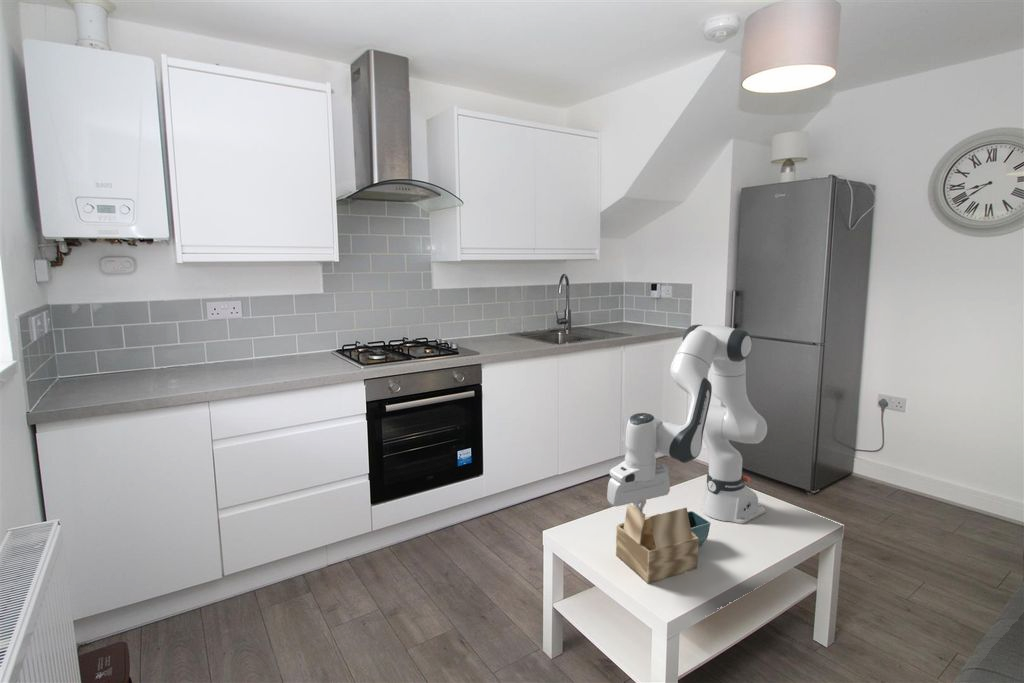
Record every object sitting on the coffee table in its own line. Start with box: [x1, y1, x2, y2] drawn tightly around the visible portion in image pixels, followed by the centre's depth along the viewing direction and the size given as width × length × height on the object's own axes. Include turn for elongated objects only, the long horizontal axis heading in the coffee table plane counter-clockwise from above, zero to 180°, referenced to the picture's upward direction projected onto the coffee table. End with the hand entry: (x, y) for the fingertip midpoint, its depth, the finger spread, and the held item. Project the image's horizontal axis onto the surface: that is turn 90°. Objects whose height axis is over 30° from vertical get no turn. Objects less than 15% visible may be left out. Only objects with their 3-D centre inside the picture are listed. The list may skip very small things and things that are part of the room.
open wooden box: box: [615, 513, 699, 585], centre depth 163 cm, size 19×17×10 cm
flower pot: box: [687, 510, 711, 548], centre depth 172 cm, size 9×9×9 cm
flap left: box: [650, 507, 693, 549], centre depth 155 cm, size 13×9×1 cm
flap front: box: [623, 503, 646, 544], centre depth 158 cm, size 9×8×1 cm
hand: (638, 513), depth 158 cm, fingers closed, pressing on flap front
